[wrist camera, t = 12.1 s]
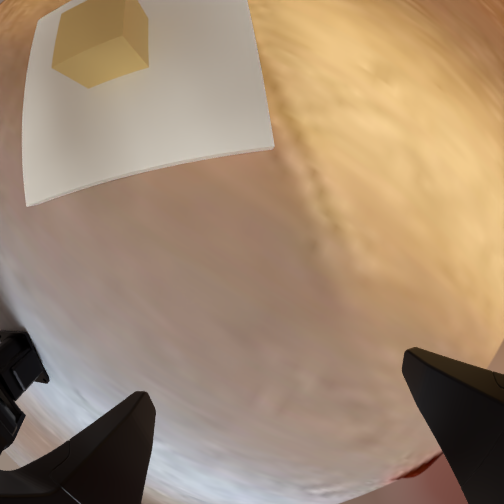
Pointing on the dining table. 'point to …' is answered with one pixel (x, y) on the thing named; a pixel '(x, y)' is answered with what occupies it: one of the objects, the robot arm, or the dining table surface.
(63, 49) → the cube
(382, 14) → the dining table surface
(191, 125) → the board
